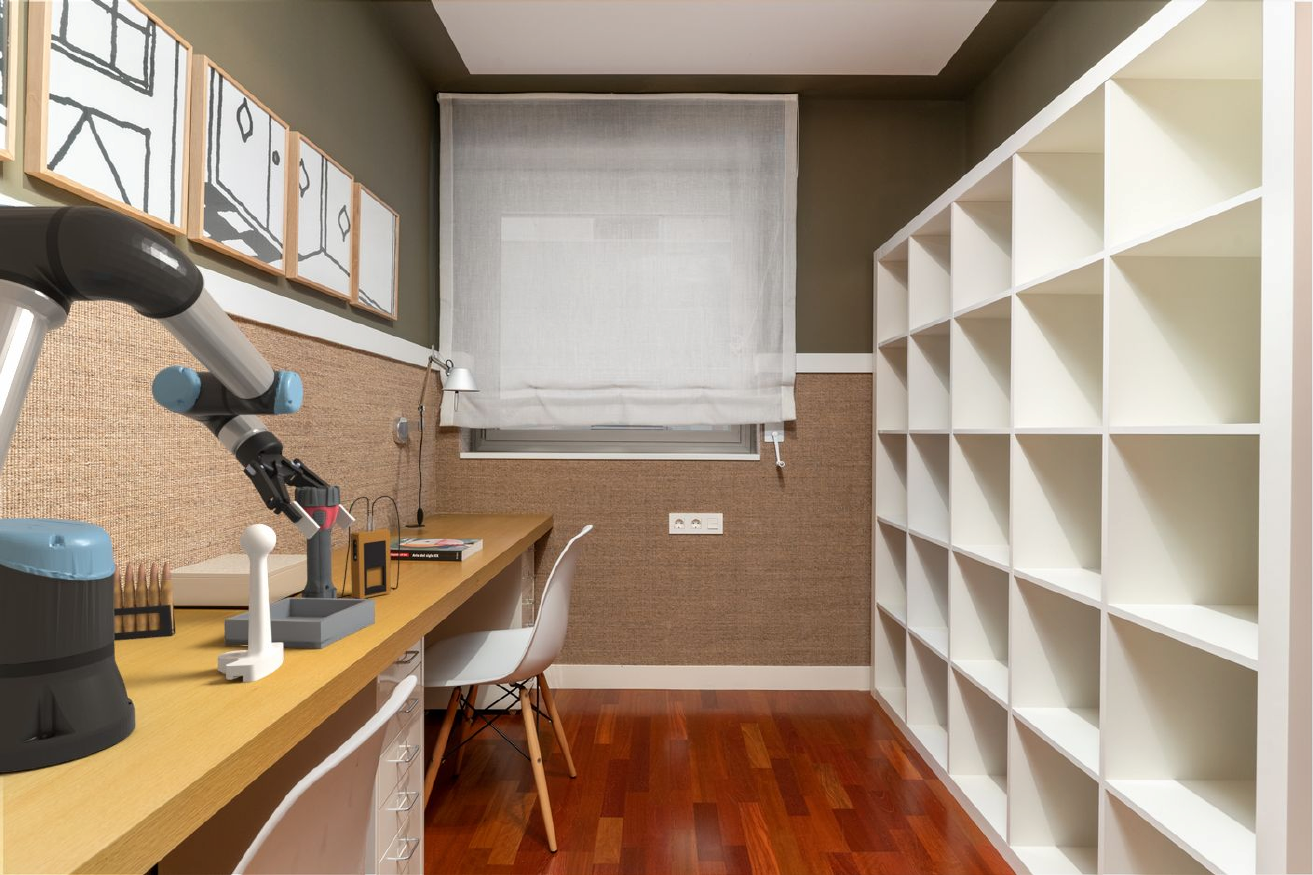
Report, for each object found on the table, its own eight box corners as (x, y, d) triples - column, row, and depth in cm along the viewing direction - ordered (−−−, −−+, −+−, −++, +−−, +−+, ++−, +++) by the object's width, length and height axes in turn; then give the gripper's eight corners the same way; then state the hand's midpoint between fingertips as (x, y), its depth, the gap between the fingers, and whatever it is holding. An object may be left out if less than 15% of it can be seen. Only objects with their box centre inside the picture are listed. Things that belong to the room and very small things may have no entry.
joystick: (261, 681, 102) (259, 528, 102) (200, 684, 101) (197, 530, 101) (291, 657, 113) (289, 519, 113) (236, 659, 112) (233, 520, 112)
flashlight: (319, 606, 146) (317, 484, 146) (352, 609, 144) (350, 484, 143) (285, 615, 139) (283, 487, 139) (319, 619, 136) (317, 487, 136)
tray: (321, 648, 118) (320, 621, 118) (224, 645, 120) (224, 619, 120) (374, 622, 133) (374, 599, 133) (288, 620, 136) (288, 597, 136)
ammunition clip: (175, 633, 128) (174, 560, 128) (172, 636, 126) (171, 562, 126) (99, 639, 125) (98, 564, 125) (95, 642, 123) (93, 566, 123)
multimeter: (377, 585, 166) (375, 491, 166) (406, 590, 160) (405, 493, 160) (312, 598, 154) (310, 497, 154) (341, 604, 148) (340, 499, 148)
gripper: (279, 456, 155) (353, 535, 153) (192, 460, 132) (279, 553, 130) (303, 429, 154) (378, 508, 152) (220, 428, 131) (307, 521, 129)
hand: (332, 529), depth 141 cm, fingers open, 11 cm apart
